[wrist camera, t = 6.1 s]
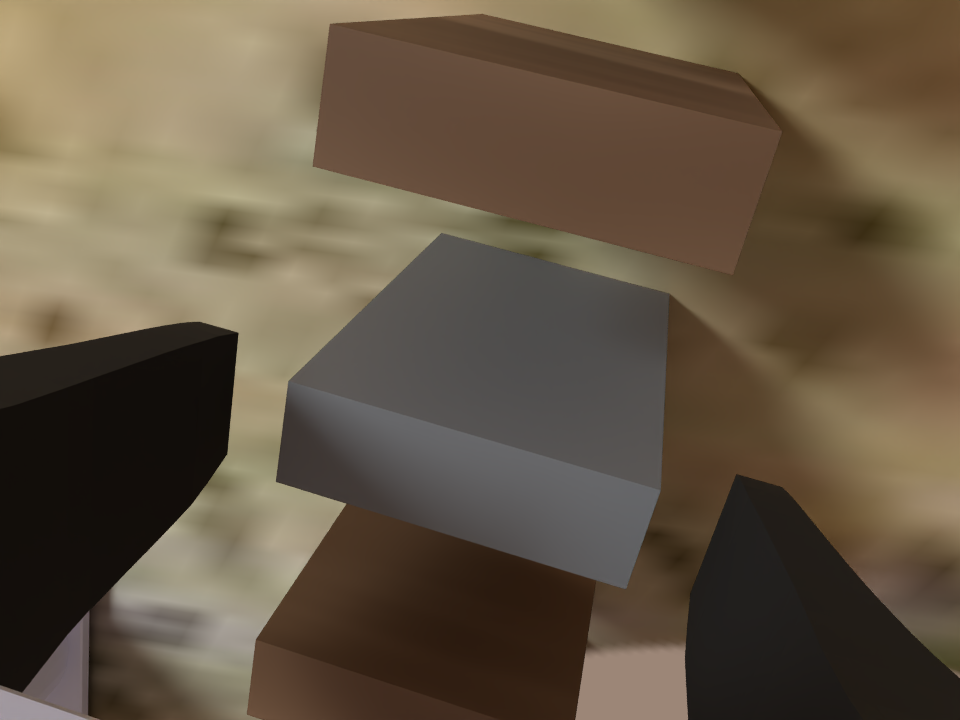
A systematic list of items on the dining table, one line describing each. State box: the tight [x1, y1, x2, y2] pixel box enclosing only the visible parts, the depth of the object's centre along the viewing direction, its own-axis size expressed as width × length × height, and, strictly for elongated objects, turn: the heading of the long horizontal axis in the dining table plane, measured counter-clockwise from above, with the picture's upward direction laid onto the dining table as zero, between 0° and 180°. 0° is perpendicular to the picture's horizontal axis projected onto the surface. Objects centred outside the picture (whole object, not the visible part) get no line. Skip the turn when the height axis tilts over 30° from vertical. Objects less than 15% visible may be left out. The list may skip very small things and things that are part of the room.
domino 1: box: [313, 14, 782, 275], centre depth 13 cm, size 2×5×8 cm, turn 78°
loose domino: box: [276, 233, 669, 589], centre depth 15 cm, size 2×5×8 cm, turn 78°
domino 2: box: [247, 504, 596, 720], centre depth 17 cm, size 2×5×8 cm, turn 79°
